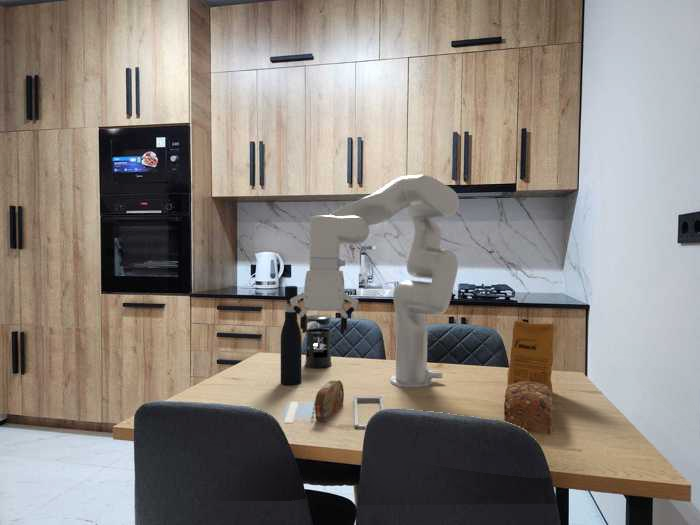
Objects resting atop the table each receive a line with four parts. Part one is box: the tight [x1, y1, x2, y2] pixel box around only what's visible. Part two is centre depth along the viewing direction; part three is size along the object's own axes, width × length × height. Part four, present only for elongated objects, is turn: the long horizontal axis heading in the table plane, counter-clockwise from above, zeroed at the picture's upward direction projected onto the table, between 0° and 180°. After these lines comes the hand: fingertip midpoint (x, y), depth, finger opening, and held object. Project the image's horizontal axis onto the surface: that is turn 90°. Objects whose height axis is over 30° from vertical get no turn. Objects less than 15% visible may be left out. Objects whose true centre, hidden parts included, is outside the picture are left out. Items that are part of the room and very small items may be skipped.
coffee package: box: [506, 319, 555, 398], centre depth 134 cm, size 10×12×22 cm
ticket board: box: [279, 401, 316, 424], centre depth 119 cm, size 8×14×1 cm, turn 0°
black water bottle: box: [280, 285, 303, 387], centre depth 145 cm, size 6×6×30 cm
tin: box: [314, 380, 345, 423], centre depth 119 cm, size 15×3×8 cm, turn 162°
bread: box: [503, 381, 554, 435], centre depth 114 cm, size 19×11×10 cm, turn 158°
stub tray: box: [353, 396, 385, 430], centre depth 118 cm, size 8×20×2 cm, turn 0°
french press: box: [304, 310, 332, 369], centre depth 168 cm, size 12×9×23 cm
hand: (323, 332), depth 120 cm, fingers open, 9 cm apart
